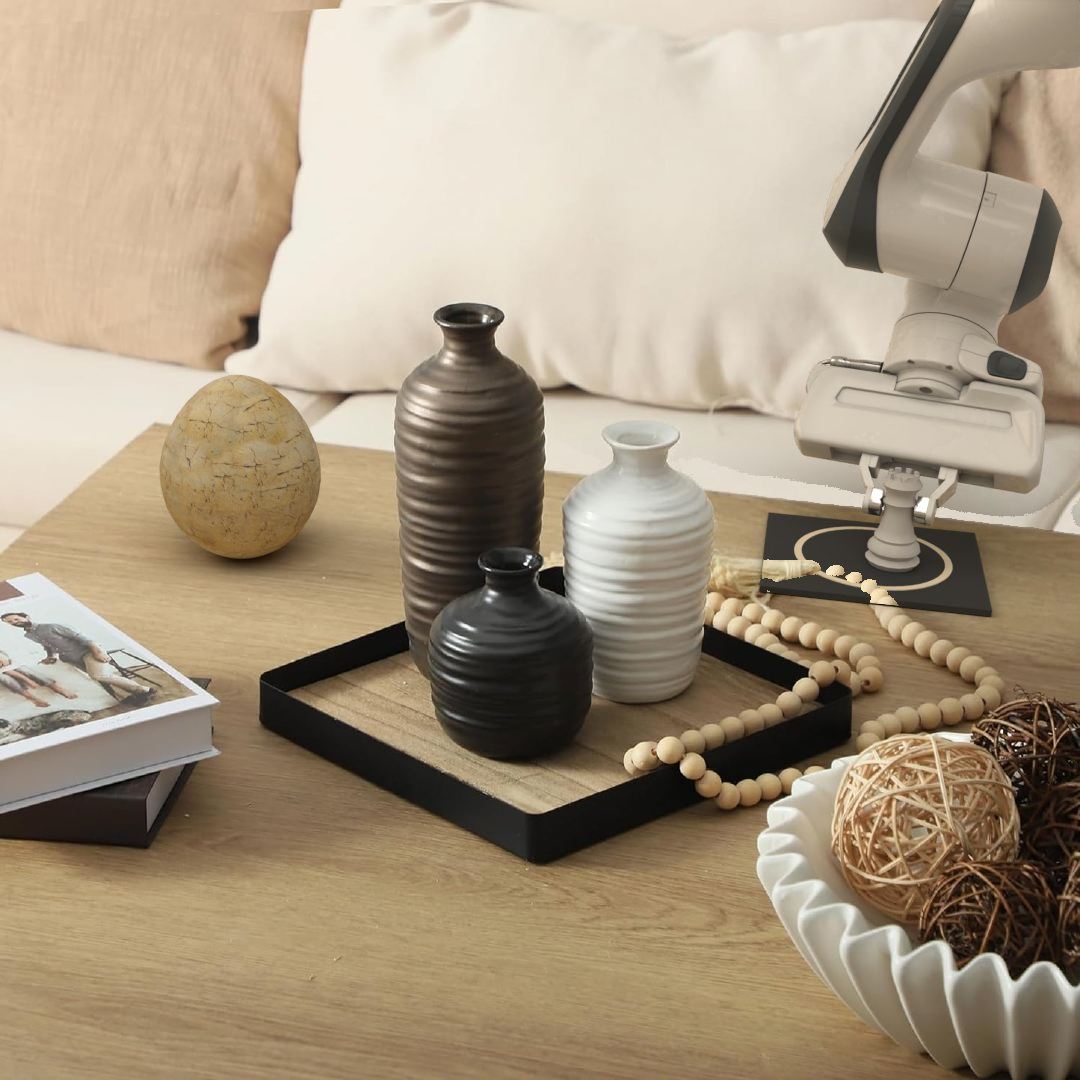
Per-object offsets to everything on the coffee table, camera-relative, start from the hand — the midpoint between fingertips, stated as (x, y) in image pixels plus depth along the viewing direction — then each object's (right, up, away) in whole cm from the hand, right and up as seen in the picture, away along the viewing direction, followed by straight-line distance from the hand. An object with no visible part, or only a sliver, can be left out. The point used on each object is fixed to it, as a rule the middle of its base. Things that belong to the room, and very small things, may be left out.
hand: (897, 517), depth 120 cm
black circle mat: (-1, -4, +4) cm, 6 cm away
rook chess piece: (0, -4, +2) cm, 5 cm away
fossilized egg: (-53, -3, +2) cm, 53 cm away
